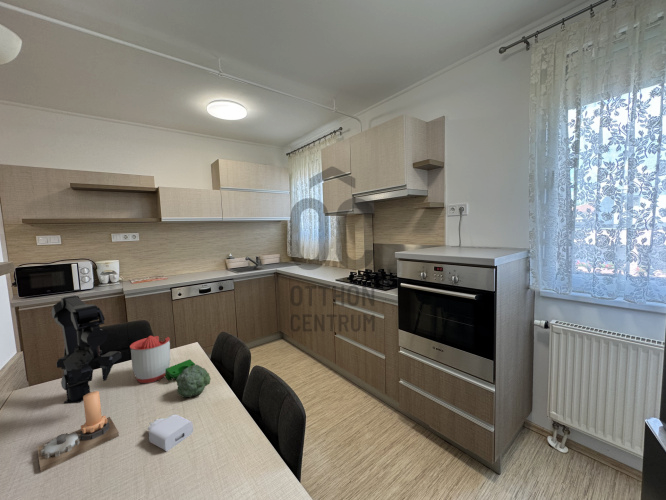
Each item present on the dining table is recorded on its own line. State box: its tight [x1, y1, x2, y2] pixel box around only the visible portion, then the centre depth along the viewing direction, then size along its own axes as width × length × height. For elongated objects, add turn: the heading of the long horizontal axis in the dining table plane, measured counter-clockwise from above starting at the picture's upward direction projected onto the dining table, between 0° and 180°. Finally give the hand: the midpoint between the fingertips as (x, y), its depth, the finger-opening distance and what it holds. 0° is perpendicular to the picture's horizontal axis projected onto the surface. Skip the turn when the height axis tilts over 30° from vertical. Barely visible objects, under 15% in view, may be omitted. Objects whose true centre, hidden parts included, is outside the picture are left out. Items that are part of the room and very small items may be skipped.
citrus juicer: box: [129, 335, 171, 384], centre depth 131 cm, size 16×17×20 cm
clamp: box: [165, 359, 196, 382], centre depth 130 cm, size 12×6×9 cm, turn 139°
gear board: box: [36, 416, 120, 473], centre depth 89 cm, size 18×12×5 cm, turn 140°
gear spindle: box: [80, 390, 108, 434], centre depth 92 cm, size 7×7×13 cm
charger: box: [147, 413, 194, 452], centre depth 93 cm, size 5×9×15 cm
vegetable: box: [176, 364, 211, 398], centre depth 117 cm, size 12×13×15 cm
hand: (91, 381), depth 103 cm, fingers open, 9 cm apart
